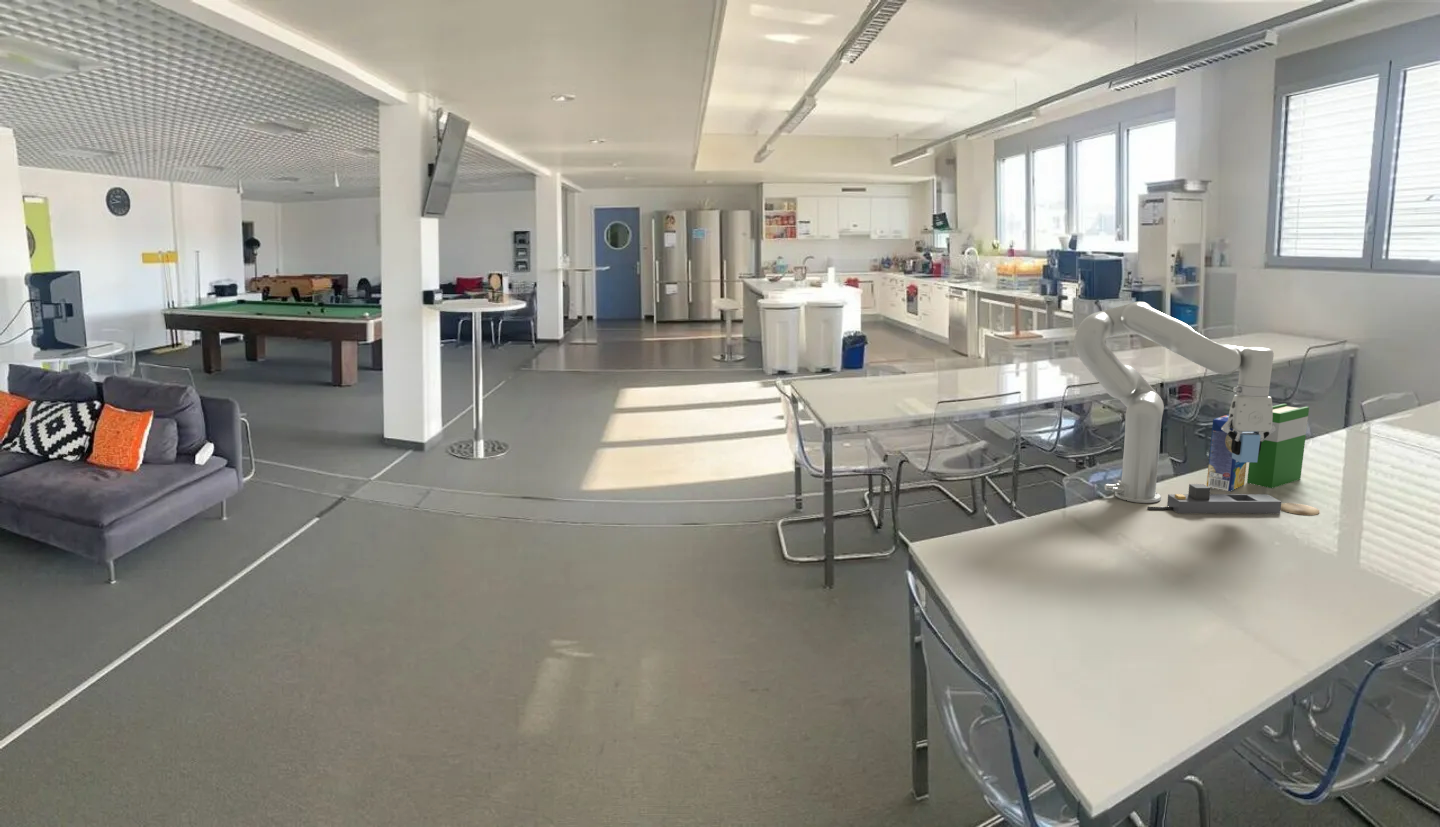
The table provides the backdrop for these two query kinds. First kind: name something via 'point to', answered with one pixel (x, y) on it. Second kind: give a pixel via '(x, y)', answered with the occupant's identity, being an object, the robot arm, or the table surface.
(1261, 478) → the hardback book
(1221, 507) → the power strip
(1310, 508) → the coaster
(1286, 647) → the table surface
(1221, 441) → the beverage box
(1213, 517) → the table surface
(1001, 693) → the table surface
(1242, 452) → the block
